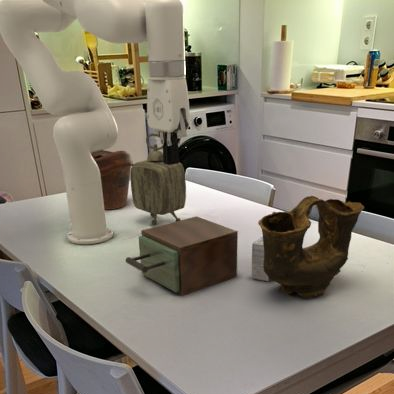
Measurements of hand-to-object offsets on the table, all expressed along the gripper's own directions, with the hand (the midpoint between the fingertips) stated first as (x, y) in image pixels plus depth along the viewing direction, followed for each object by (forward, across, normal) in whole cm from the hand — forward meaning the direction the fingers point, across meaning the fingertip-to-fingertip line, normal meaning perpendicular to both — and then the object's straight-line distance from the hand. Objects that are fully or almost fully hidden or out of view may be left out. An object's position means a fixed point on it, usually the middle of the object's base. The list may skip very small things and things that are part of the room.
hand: (171, 163), depth 115 cm
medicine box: (+23, +21, +11) cm, 33 cm away
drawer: (+22, +10, -8) cm, 26 cm away
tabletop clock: (+24, -28, +14) cm, 39 cm away
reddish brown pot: (+23, -56, +12) cm, 62 cm away
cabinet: (+23, +10, -3) cm, 26 cm away
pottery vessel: (+23, +32, +12) cm, 41 cm away
